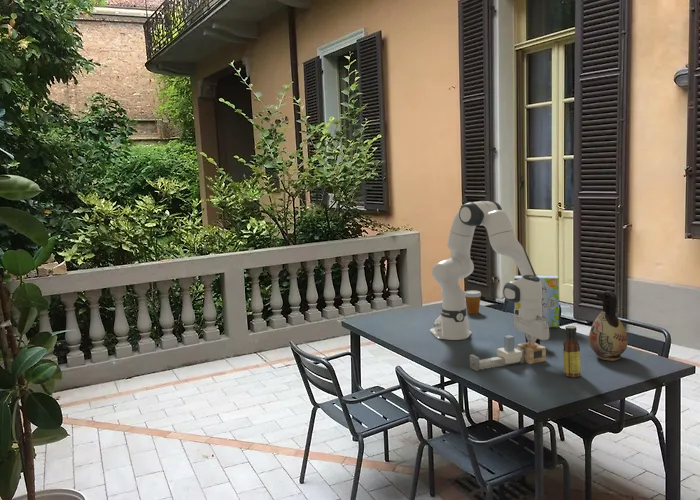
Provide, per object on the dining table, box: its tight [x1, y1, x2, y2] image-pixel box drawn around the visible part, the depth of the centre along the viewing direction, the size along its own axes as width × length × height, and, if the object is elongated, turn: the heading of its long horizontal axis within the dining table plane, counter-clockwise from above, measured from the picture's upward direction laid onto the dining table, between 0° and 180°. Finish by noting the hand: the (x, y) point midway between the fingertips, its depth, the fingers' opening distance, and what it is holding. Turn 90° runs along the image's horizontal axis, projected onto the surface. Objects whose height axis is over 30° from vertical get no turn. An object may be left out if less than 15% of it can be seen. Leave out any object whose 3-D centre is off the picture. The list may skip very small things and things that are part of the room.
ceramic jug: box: [588, 289, 629, 361], centre depth 258 cm, size 17×15×30 cm
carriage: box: [496, 334, 522, 364], centre depth 258 cm, size 8×7×10 cm
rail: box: [469, 346, 525, 372], centre depth 257 cm, size 5×23×6 cm, turn 109°
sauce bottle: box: [562, 325, 582, 378], centre depth 240 cm, size 6×6×20 cm
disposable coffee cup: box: [464, 289, 482, 315], centre depth 342 cm, size 10×10×12 cm
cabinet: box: [516, 342, 547, 365], centre depth 262 cm, size 9×8×6 cm
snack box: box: [513, 274, 560, 328], centre depth 311 cm, size 22×9×26 cm, turn 76°
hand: (531, 344), depth 262 cm, fingers closed, pressing on button
